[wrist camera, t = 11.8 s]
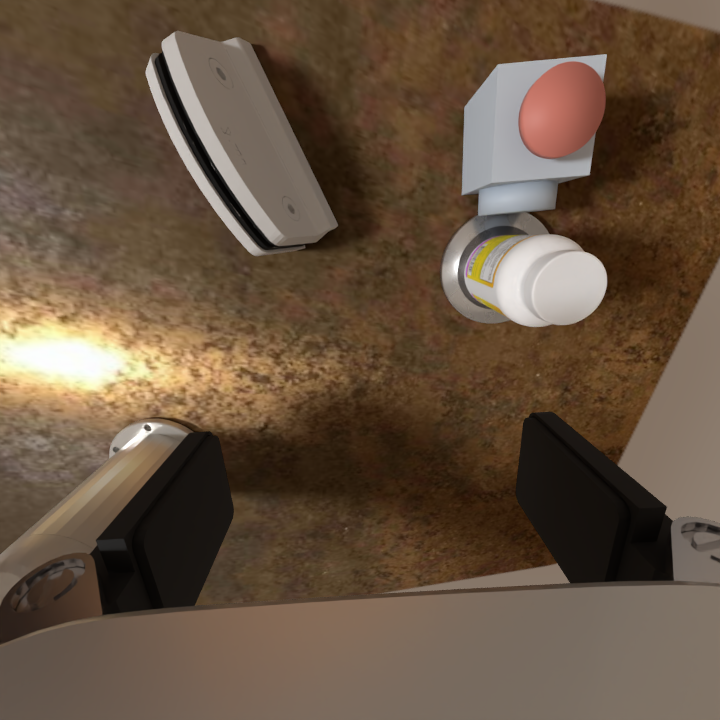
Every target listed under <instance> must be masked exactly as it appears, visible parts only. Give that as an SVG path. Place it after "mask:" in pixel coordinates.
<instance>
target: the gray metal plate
mask: <svg viewBox="0 0 720 720" xmlns="http://www.w3.org/2000/svg"><path fill="white" fill-rule="evenodd" d="M539 234H549V233H548V231H547V229H546V228H545V227H544V225H543V224H542V223H541V222H540V221H539V220H538V219H537V218H535V217H534V216H532V215H530V214H528V213H526V212H524V213H513V214H501V215H486V216H478V215H477V216H475V217H473V218H471V219H470V220H468V221H467V222H466V223H464V224H463V225H462V226H461V227H460V228H459V229H458V230H457V231H456V232H455V233H454V235H453V236H452V237H451V239H450V241H449V242H448V244H447V246H446V248H445V250H444V253H443V256H442V260H441V266H440V279H441V285H442V288H443V291H444V294H445V296H446V298H447V299H448V301H449V302H450V304H451V305H452V306H453V307H454V308H455V309H456V310H457V311H459V312H460V313H461V314H462V315H464V316H466V317H467V318H469V319H472V320H474V321H477V322H482V323H500V322H505V321H509V320H510V319H509V318H507V317H505V316H504V315H502V314H500V313H498V312H496V311H495V310H493V309H491V308H489V307H487V306H486V305H484V304H482V303H480V302H479V301H477V300H476V299H475V298H474V297H473V296H472V295H471V294H470V293H469V291H468V289H467V287H466V284H465V278H464V273H465V266H466V263H467V260H468V258H469V256H470V255H471V253H472V252H473V251H474V249H475V248H476V247H477V246H478V245H480V244H481V243H482V242H484V241H486V240H487V239H490V238H492V237H496V236H501V235H539Z"/></svg>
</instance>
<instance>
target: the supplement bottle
mask: <svg viewBox="0 0 720 720" xmlns="http://www.w3.org/2000/svg"><path fill="white" fill-rule="evenodd" d="M464 278H465V284H466V287H467V289H468V291H469V293H470V294H471V295H472V296H473V297H474V298H475V299H476V300H477V301H479V302H480V303H482V304H484V305H486V306H487V307H489V308H491V309H493V310H495V311H496V312H498V313H500V314H502V315H504V316H505V317H507V318H509V319H510V320H512V321H514V322H516V323H518V324H521V325H525V326H530V327H542V326H547V325H551V324H555V325H569V324H573V323H576V322H578V321H580V320H582V319H584V318H586V317H587V316H589V315H590V314H591V313H592V312H593V311H594V310H595V309H596V308H597V307H598V305H599V304H600V303H601V301H602V299H603V297H604V295H605V292H606V288H607V274H606V270H605V268H604V266H603V264H602V263H601V261H600V260H599V259H598V258H597V257H595V256H594V255H592V254H590V253H587V252H584V251H583V249H582V248H581V247H580V246H579V245H578V244H577V243H575V242H574V241H572V240H571V239H569V238H566V237H564V236H560V235H554V234H539V235H501V236H496V237H492V238H490V239H487V240H486V241H484V242H482V243H481V244H480V245H478V246H477V247H476V248H475V249H474V251H473V252H472V253H471V255H470V256H469V258H468V260H467V263H466V266H465V273H464Z"/></svg>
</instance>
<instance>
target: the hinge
mask: <svg viewBox="0 0 720 720" xmlns="http://www.w3.org/2000/svg"><path fill="white" fill-rule="evenodd" d="M146 77H147V80H148V83H149V86H150V89H151V92H152V95H153V97H154V100H155V103H156V105H157V108H158V111H159V113H160V115H161V117H162V120H163V122H164V124H165V126H166V128H167V131H168V133H169V135H170V137H171V139H172V141H173V143H174V145H175V147H176V149H177V150H178V152H179V154H180V156H181V158H182V160H183V161H184V163H185V165H186V167H187V169H188V170H189V172H190V173H191V175H192V177H193V178H194V180H195V182H196V183H197V185H198V186H199V188H200V189H201V191H202V192H203V194H204V195H205V197H206V198H207V200H208V201H209V203H210V204H211V205H212V207H213V208H214V210H215V211H216V213H217V214H218V215H219V217H220V218H221V219H222V220H223V222H224V223H225V224H226V226H227V227H228V228H229V229H230V231H231V232H232V233H233V234H234V235H235V237H236V238H237V239H238V240H239V241H240V242H241V243H242V245H243V246H244V247H245V248H246V249H247V250H248V251H249V252H250V253H251V254H252V255H255V256H262V255H269V254H276V253H284V252H291V251H297V250H301V249H304V248H306V247H305V244H306V243H315V242H317V241H318V240H319V239H321V238H322V237H323V236H324V235H325V234H326V233H327V232H328V231H330V230H333V229H335V228H336V227H337V226H338V224H337V221H336V219H335V217H334V215H333V213H332V211H331V209H330V207H329V205H328V203H327V201H326V199H325V197H324V195H323V193H322V190H321V188H320V186H319V184H318V182H317V180H316V178H315V176H314V174H313V172H312V170H311V168H310V166H309V164H308V161H307V159H306V157H305V155H304V153H303V151H302V149H301V147H300V145H299V143H298V141H297V139H296V137H295V135H294V132H293V130H292V128H291V126H290V124H289V122H288V120H287V118H286V116H285V114H284V112H283V110H282V108H281V106H280V103H279V101H278V99H277V97H276V95H275V93H274V91H273V89H272V87H271V85H270V83H269V81H268V79H267V77H266V75H265V72H264V70H263V68H262V66H261V64H260V62H259V60H258V58H257V56H256V54H255V52H254V50H253V48H252V46H251V43H249V42H247V41H245V40H243V39H241V38H238V37H237V38H233V39H230V40H227V41H224V42H218V41H214V40H210V39H206V38H203V37H199V36H195V35H191V34H188V33H184V32H180V31H176V32H174V33H173V34H171V35H170V36H169V37H167V38H166V39H164V40H163V41H162V53H160V54H158V53H154V54H152V55H151V58H150V60H149V63H148V66H147V69H146Z"/></svg>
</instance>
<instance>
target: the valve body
mask: <svg viewBox="0 0 720 720" xmlns="http://www.w3.org/2000/svg"><path fill="white" fill-rule="evenodd" d="M606 57H607V54H605V55H594V56H583V57H573V58H562V59H551V60H540V61H530V62H519V63H508V64H498V65H497V66H496V68H495V69H494V70H493V72H492V73H491V74H490V75H489V77H488V78H487V79H486V80H485V82H484V83H483V84H482V86H481V87H480V88H479V89H478V91H477V92H476V93H475V95H474V96H473V97H472V98H471V100H470V101H469V102H468V104H467V105H466V106H465V108H464V143H463V177H462V195H469V194H479V204H478V216H486V215H501V214H513V213H524V212H535V211H544V210H552V209H555V205H556V197H557V188H558V183H562V182H566V181H569V180H573V179H577V178H581V177H584V176H588V175H590V168H591V161H592V154H593V147H594V141H595V134H596V131H597V129H598V127H599V125H600V123H601V121H602V118H603V115H604V110H605V103H606V95H605V88H604V85H603V78H604V71H605V64H606Z"/></svg>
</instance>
